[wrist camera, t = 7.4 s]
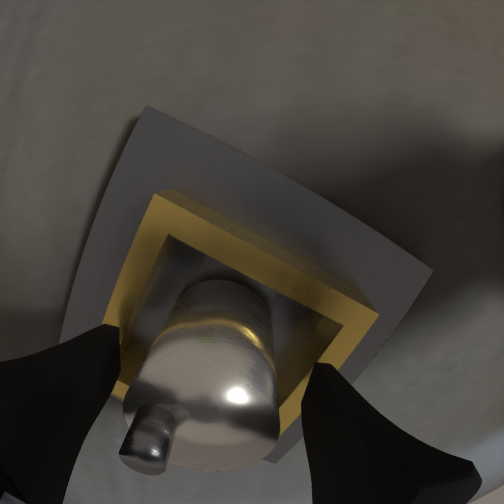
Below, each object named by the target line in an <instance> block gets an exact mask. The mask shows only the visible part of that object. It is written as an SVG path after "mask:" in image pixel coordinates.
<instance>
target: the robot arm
mask: <svg viewBox="0 0 504 504" xmlns="http://www.w3.org/2000/svg"><path fill="white" fill-rule="evenodd" d="M120 372H121V361H120V330H119V327H117V326H113V325H109V324H102V325H100V326H97V327H95V328H93V329H91V330H89V331H87V332H85V333H83V334H81V335H79V336H76V337H74V338H72V339H70V340H68V341H66V342H63V343H61V344H59V345H56V346H54V347H51V348H49V349H46V350H44V351H41V352H38V353H35V354H32V355H29V356H25V357H22V358H18V359H13V360H8V361H3V362H0V504H63V500H64V496H65V493H66V489H67V486H68V482H69V479H70V476H71V473H72V470H73V467H74V465H75V462H76V459H77V457H78V454H79V452H80V449H81V447H82V444H83V442H84V440H85V438H86V436H87V434H88V432H89V430H90V428H91V427H92V425H93V423H94V422H95V420H96V418H97V416H98V415H99V413H100V411H101V410H102V408H103V406H104V405H105V403H106V401H107V400H108V398H109V396H110V395H111V393H112V391H113V389H114V386H115V384H116V382H117V379H118V377H119V374H120ZM301 422H302V430H303V436H304V441H305V446H306V452H307V457H308V462H309V468H310V473H311V481H312V501H313V504H466V503H467V502H468V501H469V500H470V499H471V498H472V497H473V496H474V495H475V494H476V493H477V491H478V490H479V488H480V486H481V484H482V479H481V477H480V475H479V473H478V471H477V470H476V468H475V466H474V464H473V462H472V461H469V460H466V459H463V458H460V457H457V456H453V455H450V454H448V453H445V452H443V451H440V450H438V449H436V448H434V447H431V446H429V445H427V444H425V443H424V442H422V441H420V440H418V439H416V438H415V437H413V436H411V435H410V434H408V433H406V432H405V431H403V430H402V429H400V428H399V427H397V426H396V425H395V424H393V423H392V422H391V421H389V420H388V419H387V418H385V417H384V416H383V415H382V414H380V413H379V412H378V411H377V410H376V409H375V408H374V407H373V406H372V405H370V404H369V403H368V402H367V401H366V400H365V399H364V398H363V397H362V396H361V395H360V394H359V393H358V392H357V391H356V390H355V389H354V388H353V387H352V386H351V384H350V383H349V382H348V381H347V380H346V379H345V378H344V377H343V376H342V375H341V374H340V373H339V371H338V370H337V369H336V368H335V367H334V366H333V365H332V364H330V363H320V362H315V364H314V367H313V370H312V373H311V375H310V378H309V381H308V384H307V387H306V390H305V393H304V395H303V398H302V401H301Z"/></svg>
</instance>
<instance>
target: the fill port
mask: <svg viewBox="0 0 504 504" xmlns="http://www.w3.org/2000/svg"><path fill="white" fill-rule="evenodd" d="M433 271H434V270H432V269H431V268H429V267H428V266H427V265H425V264H424V263H422V262H421V261H420V260H418V259H417V258H415V257H414V256H412V255H411V254H410V253H408V252H407V251H405V250H404V249H402V248H401V247H399V246H398V245H396V244H395V243H393V242H392V241H391V240H389V239H388V238H386V237H385V236H383V235H381V234H380V233H378V232H377V231H375V230H374V229H372V228H371V227H369V226H368V225H366V224H365V223H363V222H361V221H360V220H358V219H357V218H355V217H354V216H352V215H350V214H349V213H347V212H346V211H344V210H342V209H341V208H339V207H338V206H336V205H334V204H333V203H331V202H329V201H328V200H326V199H324V198H323V197H321V196H319V195H318V194H316V193H314V192H313V191H311V190H309V189H308V188H306V187H304V186H303V185H301V184H299V183H297V182H296V181H294V180H292V179H290V178H289V177H287V176H285V175H283V174H282V173H280V172H278V171H276V170H274V169H273V168H271V167H269V166H267V165H265V164H264V163H262V162H260V161H258V160H256V159H254V158H253V157H251V156H249V155H247V154H245V153H243V152H241V151H239V150H238V149H236V148H234V147H232V146H230V145H228V144H226V143H224V142H222V141H220V140H218V139H216V138H214V137H212V136H210V135H208V134H206V133H204V132H202V131H200V130H198V129H196V128H194V127H192V126H190V125H188V124H186V123H184V122H182V121H180V120H177V119H175V118H173V117H171V116H169V115H167V114H165V113H162V112H160V111H158V110H156V109H154V108H151V107H149V106H147V105H146V106H145V108H144V110H143V112H142V114H141V116H140V118H139V119H138V121H137V123H136V125H135V127H134V129H133V131H132V133H131V135H130V138H129V140H128V142H127V144H126V146H125V148H124V150H123V152H122V154H121V157H120V159H119V161H118V163H117V166H116V168H115V170H114V172H113V175H112V177H111V179H110V182H109V184H108V187H107V189H106V191H105V194H104V196H103V199H102V201H101V204H100V207H99V209H98V212H97V214H96V217H95V220H94V223H93V225H92V228H91V231H90V234H89V237H88V239H87V242H86V245H85V248H84V251H83V254H82V258H81V261H80V264H79V267H78V270H77V274H76V277H75V281H74V284H73V288H72V291H71V295H70V299H69V302H68V306H67V310H66V314H65V318H64V322H63V327H62V331H61V336H60V340H59V344H61V343H63V342H66V341H68V340H70V339H72V338H74V337H76V336H79V335H81V334H83V333H85V332H87V331H89V330H91V329H93V328H95V327H97V326H100V325H102V324H109V325H113V326H117V327H119V330H120V361H121V372H120V374H119V377H118V379H117V382H116V384H115V386H114V389H113V391H112V393H111V395H110V396H112V397H114V398H115V399H117V400H119V401H121V402H124V397H125V395H126V392H127V390H128V388H129V386H130V385H131V383H132V381H133V379H134V377H135V375H136V373H137V371H138V370H139V368H140V366H141V364H142V362H143V360H144V358H145V357H146V355H147V353H148V351H149V349H150V347H151V346H152V344H153V342H154V340H155V338H156V337H157V335H158V333H159V331H160V329H161V328H162V326H163V324H164V322H165V320H166V319H167V317H168V315H169V313H170V312H171V310H172V308H173V306H174V304H175V303H176V301H177V300H178V298H179V297H180V296H181V295H182V294H183V293H184V292H185V291H186V290H187V289H189V288H190V287H192V286H194V285H196V284H198V283H201V282H204V281H209V280H227V281H232V282H236V283H238V284H241V285H243V286H245V287H247V288H249V289H250V290H252V291H253V292H254V293H256V294H257V295H258V296H259V297H260V298H261V299H262V300H263V302H264V303H265V305H266V306H267V308H268V310H269V313H270V316H271V320H272V328H273V340H274V352H275V364H276V377H277V389H278V402H279V415H280V435H279V439H278V441H277V443H276V445H275V447H274V448H273V449H272V451H271V452H270V453H269V454H268V455H267V456H265V457H264V458H263V459H262V460H266V461H269V462H273V463H276V462H277V461H278V460H279V459H280V458H282V457H283V456H284V455H285V454H286V453H287V452H288V451H289V450H290V449H291V448H292V447H293V446H294V445H295V444H296V443H297V442H298V441H299V440H300V439H301V438H302V437H303V430H302V422H301V401H302V398H303V395H304V393H305V390H306V387H307V384H308V381H309V378H310V375H311V373H312V370H313V367H314V364H315V362H320V363H330V364H332V365H333V366H334V367H335V368H336V369H337V370H338V371H339V373H340V374H341V375H342V376H343V377H344V378H345V379H346V380H347V381H348V382H349V383H350V384H352V383H353V382H354V381H355V380H356V378H357V377H358V376H359V375H360V374H361V372H362V371H363V370H364V369H365V367H366V366H367V365H368V364H369V362H370V361H371V360H372V359H373V357H374V356H375V355H376V354H377V352H378V351H379V350H380V348H381V347H382V346H383V344H384V343H385V342H386V340H387V339H388V338H389V336H390V335H391V334H392V332H393V331H394V330H395V328H396V327H397V325H398V324H399V323H400V321H401V320H402V318H403V317H404V315H405V314H406V313H407V311H408V310H409V308H410V307H411V305H412V304H413V302H414V301H415V299H416V298H417V296H418V295H419V293H420V292H421V290H422V289H423V287H424V286H425V284H426V282H427V281H428V279H429V278H430V276H431V274H432V273H433Z"/></svg>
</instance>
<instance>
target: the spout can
mask: <svg viewBox="0 0 504 504" xmlns="http://www.w3.org/2000/svg"><path fill="white" fill-rule="evenodd" d="M123 413H124V417H125V420H126V423H127V425H128V427H129V430H128V432H127V435H126V437H125V439H124V442H123V444H122V446H121V449H120V451H119V457H120V459H121V460H122V461H123V463H124V464H126V465H127V466H128V467H130V468H131V469H133V470H135V471H137V472H140V473H143V474H147V475H159V474H162V473H163V472H164V471H165V469H166V466H167V462H170V463H173V464H175V465H178V466H181V467H184V468H188V469H193V470H198V471H207V472H223V471H232V470H237V469H241V468H244V467H247V466H250V465H252V464H254V463H256V462H258V461H260V460H261V459H263V458H264V457H265V456H267V455H268V454H269V453H270V452H271V451H272V449H273V448H274V447H275V445H276V443H277V441H278V439H279V435H280V415H279V402H278V389H277V377H276V364H275V352H274V340H273V328H272V320H271V316H270V313H269V310H268V308H267V306H266V305H265V303H264V302H263V300H262V299H261V298H260V297H259V296H258V295H257V294H256V293H254V292H253V291H252V290H250V289H249V288H247V287H245V286H243V285H241V284H238V283H236V282H232V281H227V280H209V281H204V282H201V283H198V284H196V285H194V286H192V287H190V288H189V289H187V290H186V291H185V292H184V293H183V294H182V295H181V296H180V297H179V298H178V300H177V301H176V303H175V304H174V306H173V308H172V310H171V312H170V313H169V315H168V317H167V319H166V320H165V322H164V324H163V326H162V328H161V329H160V331H159V333H158V335H157V337H156V338H155V340H154V342H153V344H152V346H151V347H150V349H149V351H148V353H147V355H146V357H145V358H144V360H143V362H142V364H141V366H140V368H139V370H138V371H137V373H136V375H135V377H134V379H133V381H132V383H131V385H130V386H129V388H128V390H127V392H126V395H125V397H124V402H123Z"/></svg>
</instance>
